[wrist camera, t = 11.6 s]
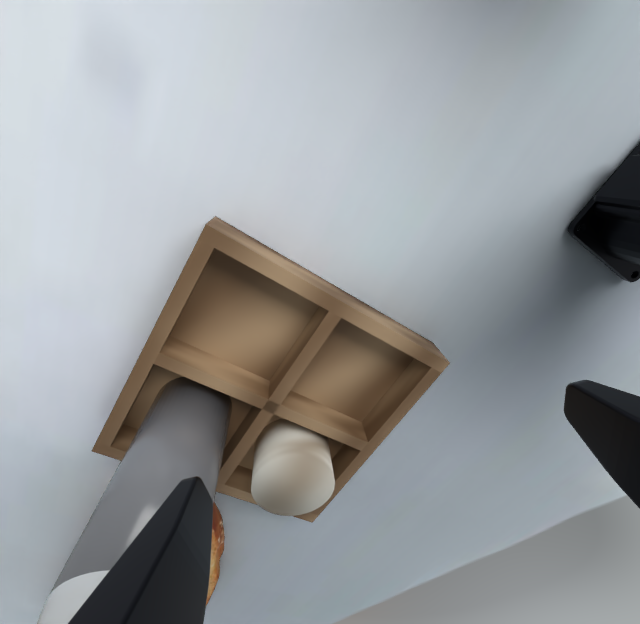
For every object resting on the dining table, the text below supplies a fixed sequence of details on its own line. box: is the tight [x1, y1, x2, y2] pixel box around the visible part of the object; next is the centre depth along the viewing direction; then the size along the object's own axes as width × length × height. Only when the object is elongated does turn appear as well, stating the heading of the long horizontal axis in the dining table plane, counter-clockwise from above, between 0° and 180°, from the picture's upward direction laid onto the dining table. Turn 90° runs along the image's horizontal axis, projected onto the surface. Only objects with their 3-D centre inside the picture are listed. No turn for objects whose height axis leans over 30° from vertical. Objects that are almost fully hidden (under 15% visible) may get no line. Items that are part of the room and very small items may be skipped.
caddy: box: [92, 216, 450, 522], centre depth 21 cm, size 16×16×4 cm
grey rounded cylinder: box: [37, 377, 232, 624], centre depth 16 cm, size 5×5×13 cm
